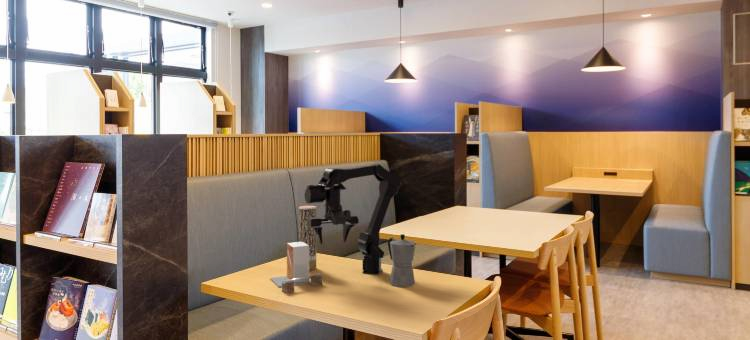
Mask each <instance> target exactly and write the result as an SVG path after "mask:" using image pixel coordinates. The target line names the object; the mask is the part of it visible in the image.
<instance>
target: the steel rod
mask: <svg viewBox="0 0 750 340" xmlns="http://www.w3.org/2000/svg"><path fill="white" fill-rule="evenodd" d="M322 274H323V273H321V272H320V273H316V274H315V273H314V274H309V276H305V277H300V278H296V279H291V280H286V281H283V282H282V283H283V284H285V283H287V282H291V281H299V280H303V279H308V278H309V279H311V278H313V277H314V276H319V275H322ZM322 276H323V275H322Z"/></svg>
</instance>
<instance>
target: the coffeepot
mask: <svg viewBox="0 0 750 340" xmlns="http://www.w3.org/2000/svg"><path fill="white" fill-rule="evenodd" d="M399 236H400V239H397V238H393V237H389V239H388V241H387V247H388V251H389V257H390V260H391V261H392V266H391V272H390V278H389V283H390V285H391V286H394V287H396V288H397V287H398V288H399V287H400V288H408V287H413V286H414V285H415V284H416V281H415V276H414V275H415V274H414V268H413V266H412V265H413V263H412V262H413V261H414V256H415V250H416V242H415V241H414V240H413V241H412V240H410V239H405V236H406V235H405V234H404V233H402V234H400V235H399Z"/></svg>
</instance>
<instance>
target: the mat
mask: <svg viewBox="0 0 750 340" xmlns="http://www.w3.org/2000/svg"><path fill="white" fill-rule="evenodd" d="M286 280H291V279H289V278H288V277H287V275H285V276H284V275H283V276H275V277H270V281H271V282H273V283H274V285H275V286H277V288H282V282H283V281H286ZM309 284H310V285H311V280H310V279H309V280H308V281H300V282H294V286H299V285H300V286H301V285H309Z"/></svg>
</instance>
